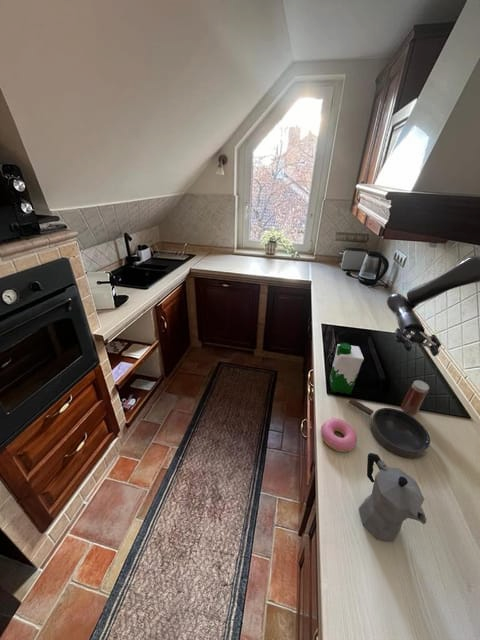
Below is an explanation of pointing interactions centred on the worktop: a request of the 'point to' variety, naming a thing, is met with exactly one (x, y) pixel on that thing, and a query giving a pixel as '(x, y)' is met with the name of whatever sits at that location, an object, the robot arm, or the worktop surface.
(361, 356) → the milk carton
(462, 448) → the worktop surface
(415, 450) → the pan
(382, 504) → the coffeepot
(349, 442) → the doughnut
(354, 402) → the pan handle
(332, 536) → the worktop surface
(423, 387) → the shaker
